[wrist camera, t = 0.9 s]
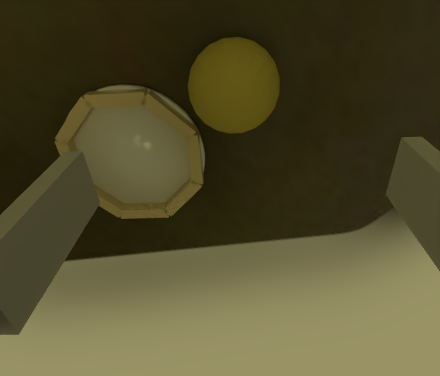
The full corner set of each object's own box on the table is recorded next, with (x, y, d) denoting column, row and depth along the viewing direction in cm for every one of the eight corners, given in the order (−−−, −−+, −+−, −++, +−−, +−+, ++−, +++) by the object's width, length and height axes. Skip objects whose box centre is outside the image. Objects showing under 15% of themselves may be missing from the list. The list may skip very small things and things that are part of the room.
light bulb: (264, 106, 30) (276, 152, 22) (196, 100, 30) (181, 144, 22) (277, 29, 26) (296, 50, 18) (198, 22, 26) (181, 40, 18)
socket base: (89, 211, 38) (83, 221, 37) (44, 88, 30) (33, 94, 28) (210, 207, 37) (209, 218, 36) (197, 79, 29) (195, 85, 27)
